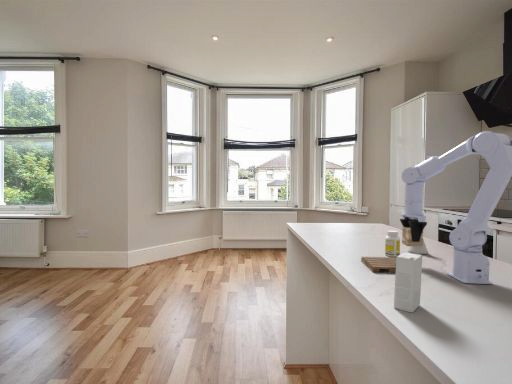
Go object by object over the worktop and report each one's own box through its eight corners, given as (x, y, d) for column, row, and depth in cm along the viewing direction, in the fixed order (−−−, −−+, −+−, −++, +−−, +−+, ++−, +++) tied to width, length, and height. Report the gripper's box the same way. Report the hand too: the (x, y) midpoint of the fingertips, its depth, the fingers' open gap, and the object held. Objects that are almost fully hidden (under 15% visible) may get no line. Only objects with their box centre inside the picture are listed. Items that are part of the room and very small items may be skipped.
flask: (404, 251, 131) (405, 228, 130) (416, 250, 134) (416, 227, 134) (419, 255, 124) (420, 230, 124) (431, 253, 127) (432, 229, 127)
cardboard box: (422, 246, 107) (423, 229, 107) (407, 246, 107) (408, 229, 107) (416, 243, 112) (416, 227, 112) (401, 243, 112) (402, 226, 112)
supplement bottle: (396, 254, 125) (397, 230, 125) (401, 257, 120) (402, 232, 120) (383, 253, 126) (383, 229, 126) (387, 256, 121) (388, 232, 120)
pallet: (411, 273, 98) (411, 268, 98) (373, 272, 99) (373, 266, 99) (394, 262, 112) (395, 257, 112) (361, 261, 113) (361, 256, 113)
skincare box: (401, 300, 75) (402, 251, 75) (421, 305, 72) (423, 254, 72) (392, 308, 71) (394, 255, 70) (414, 314, 68) (416, 259, 67)
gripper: (394, 200, 117) (393, 236, 117) (410, 202, 102) (409, 243, 103) (413, 200, 116) (412, 236, 117) (432, 203, 102) (431, 244, 102)
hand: (412, 239), depth 110 cm, fingers closed on cardboard box, 5 cm apart
